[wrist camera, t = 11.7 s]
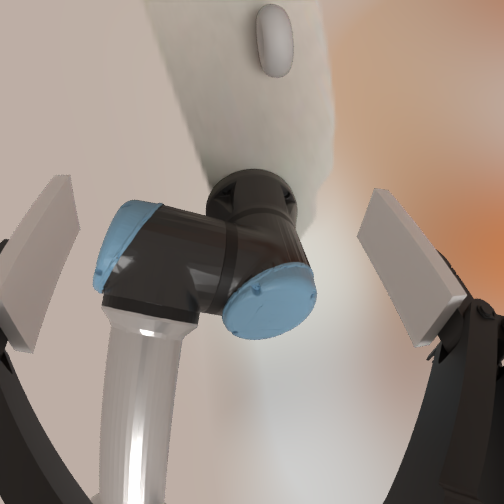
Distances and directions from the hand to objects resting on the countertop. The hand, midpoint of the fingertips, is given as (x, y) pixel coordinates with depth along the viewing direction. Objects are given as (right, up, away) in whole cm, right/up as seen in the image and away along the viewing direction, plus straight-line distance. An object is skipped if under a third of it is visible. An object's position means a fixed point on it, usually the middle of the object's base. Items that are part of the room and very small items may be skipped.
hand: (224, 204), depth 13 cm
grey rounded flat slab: (+3, +27, +24) cm, 36 cm away
